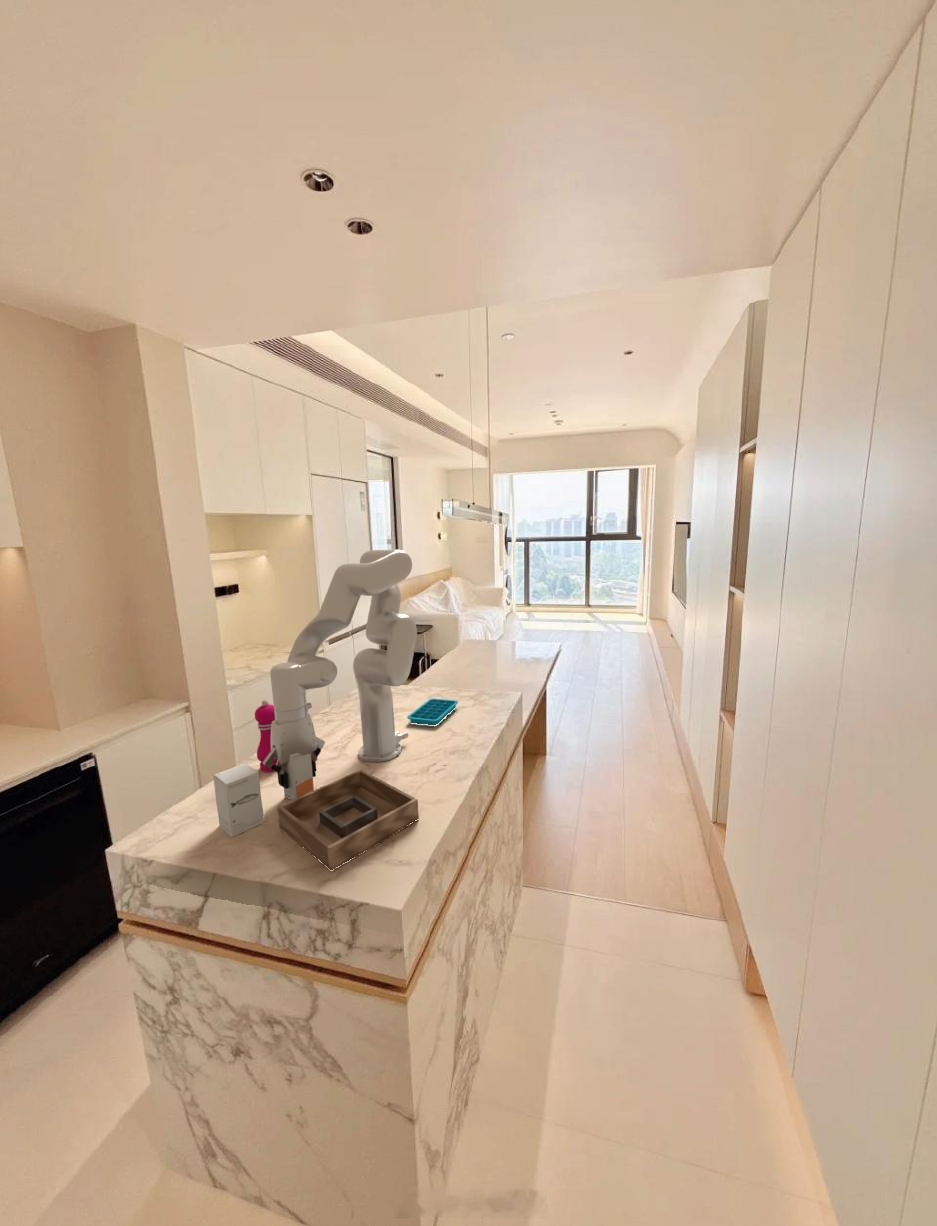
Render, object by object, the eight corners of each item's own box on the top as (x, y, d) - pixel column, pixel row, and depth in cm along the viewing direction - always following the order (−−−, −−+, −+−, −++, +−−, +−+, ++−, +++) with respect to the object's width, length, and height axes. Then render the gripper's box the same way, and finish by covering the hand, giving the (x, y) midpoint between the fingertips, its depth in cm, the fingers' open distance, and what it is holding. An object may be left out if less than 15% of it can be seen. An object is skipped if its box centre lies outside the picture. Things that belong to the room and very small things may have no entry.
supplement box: (231, 838, 103) (224, 784, 101) (218, 825, 108) (211, 773, 106) (265, 823, 108) (259, 771, 106) (251, 811, 113) (245, 761, 111)
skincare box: (295, 801, 116) (290, 756, 115) (284, 797, 119) (279, 752, 117) (315, 790, 122) (310, 746, 120) (304, 786, 124) (299, 742, 122)
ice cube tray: (406, 726, 162) (405, 717, 161) (431, 705, 180) (430, 698, 180) (437, 729, 158) (436, 721, 157) (459, 708, 176) (459, 700, 176)
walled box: (362, 787, 122) (361, 769, 121) (418, 819, 107) (417, 799, 106) (279, 827, 106) (277, 806, 105) (331, 872, 91) (329, 848, 90)
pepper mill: (276, 774, 131) (268, 704, 128) (253, 772, 132) (244, 704, 129) (291, 761, 138) (283, 695, 135) (268, 760, 139) (261, 695, 136)
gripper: (315, 700, 125) (321, 763, 128) (249, 720, 113) (257, 789, 116) (330, 706, 120) (336, 772, 123) (262, 727, 108) (271, 800, 111)
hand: (298, 780), depth 120 cm, fingers closed on skincare box, 6 cm apart
